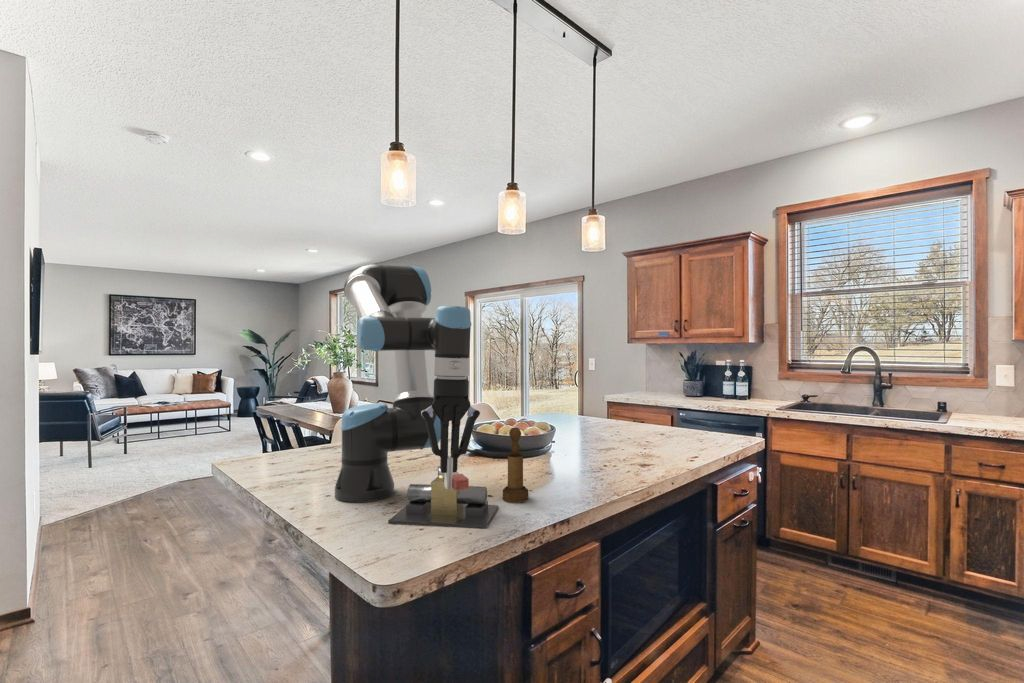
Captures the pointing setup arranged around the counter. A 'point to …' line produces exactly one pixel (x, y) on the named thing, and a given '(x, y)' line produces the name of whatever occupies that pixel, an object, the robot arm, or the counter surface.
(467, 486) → the lever
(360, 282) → the robot arm
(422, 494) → the valve
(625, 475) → the counter surface
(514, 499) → the brown pepper mill
